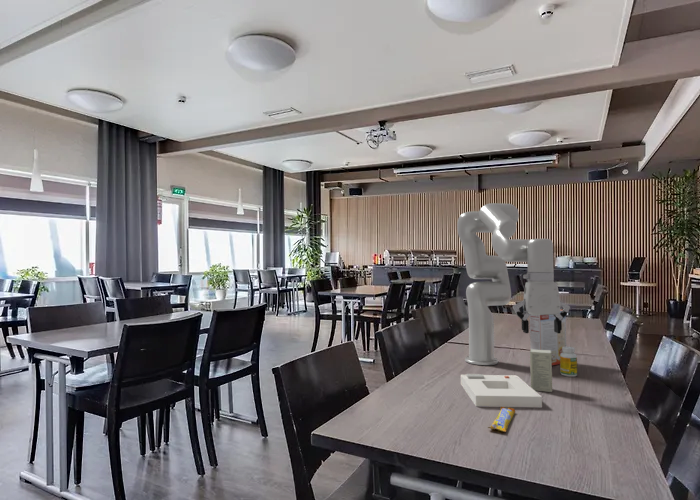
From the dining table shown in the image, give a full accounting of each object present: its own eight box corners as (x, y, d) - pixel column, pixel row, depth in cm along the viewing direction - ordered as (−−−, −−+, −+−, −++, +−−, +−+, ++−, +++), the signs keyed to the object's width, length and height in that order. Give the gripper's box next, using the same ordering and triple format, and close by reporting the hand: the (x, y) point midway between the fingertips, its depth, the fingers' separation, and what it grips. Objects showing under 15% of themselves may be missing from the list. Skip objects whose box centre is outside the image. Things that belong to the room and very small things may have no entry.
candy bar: (500, 411, 121) (500, 404, 121) (516, 414, 119) (516, 407, 119) (487, 433, 106) (487, 425, 106) (505, 436, 104) (505, 428, 104)
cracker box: (554, 360, 178) (553, 308, 178) (567, 363, 173) (566, 309, 173) (528, 364, 172) (528, 310, 172) (541, 367, 167) (541, 311, 167)
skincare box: (552, 388, 140) (552, 350, 140) (552, 392, 136) (551, 352, 136) (530, 386, 143) (530, 348, 143) (530, 390, 139) (529, 351, 139)
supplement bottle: (565, 372, 160) (565, 345, 160) (580, 375, 156) (580, 348, 156) (557, 374, 157) (556, 347, 157) (571, 377, 153) (571, 349, 153)
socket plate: (460, 383, 146) (460, 372, 146) (516, 384, 145) (516, 373, 145) (475, 406, 124) (475, 393, 124) (542, 407, 123) (541, 394, 123)
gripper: (516, 278, 136) (517, 334, 136) (574, 278, 135) (575, 334, 135) (508, 277, 144) (509, 330, 143) (563, 277, 143) (564, 331, 142)
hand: (541, 332), depth 139 cm, fingers open, 9 cm apart
